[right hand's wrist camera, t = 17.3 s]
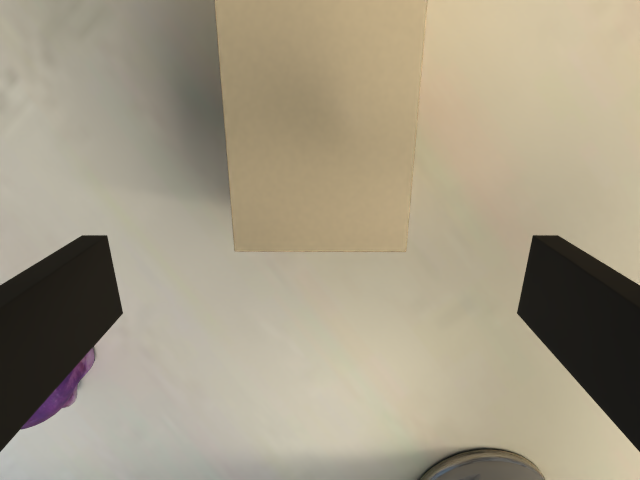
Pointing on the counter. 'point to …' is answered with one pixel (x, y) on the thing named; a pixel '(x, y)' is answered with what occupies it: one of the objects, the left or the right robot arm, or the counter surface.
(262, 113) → the cabinet
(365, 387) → the counter surface
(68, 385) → the figurine
